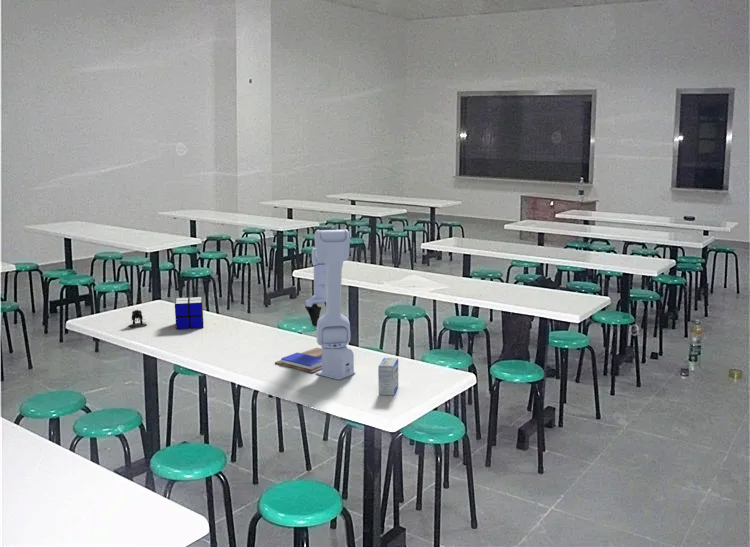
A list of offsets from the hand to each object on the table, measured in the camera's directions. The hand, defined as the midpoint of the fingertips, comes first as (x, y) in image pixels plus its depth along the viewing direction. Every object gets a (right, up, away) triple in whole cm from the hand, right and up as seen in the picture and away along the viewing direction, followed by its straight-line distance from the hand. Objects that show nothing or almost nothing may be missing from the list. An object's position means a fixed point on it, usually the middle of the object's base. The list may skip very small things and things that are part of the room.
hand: (323, 323), depth 239 cm
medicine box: (+21, -17, -36) cm, 45 cm away
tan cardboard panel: (-2, -11, -9) cm, 15 cm away
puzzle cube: (-53, -3, +34) cm, 63 cm away
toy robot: (-73, -4, +34) cm, 81 cm away
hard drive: (-5, -12, -13) cm, 18 cm away
